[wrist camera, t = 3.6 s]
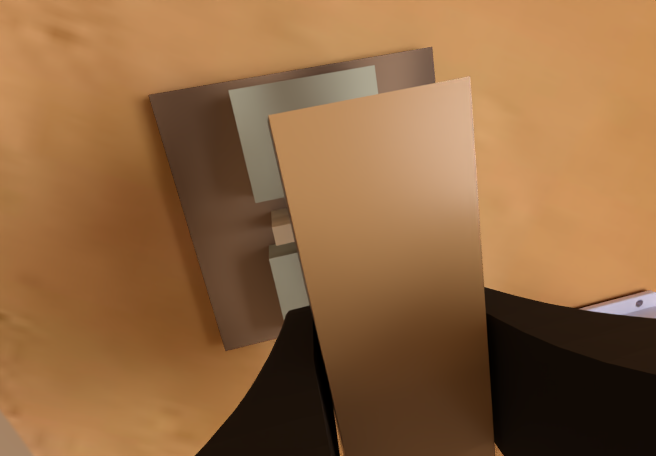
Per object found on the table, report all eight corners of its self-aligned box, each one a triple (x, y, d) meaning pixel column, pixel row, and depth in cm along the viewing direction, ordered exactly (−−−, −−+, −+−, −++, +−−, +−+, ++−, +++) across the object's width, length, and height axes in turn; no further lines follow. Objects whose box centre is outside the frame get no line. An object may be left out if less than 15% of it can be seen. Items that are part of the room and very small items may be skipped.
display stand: (425, 50, 18) (468, 27, 14) (447, 288, 21) (486, 322, 17) (154, 96, 16) (118, 85, 12) (227, 342, 20) (217, 392, 16)
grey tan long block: (373, 101, 10) (470, 76, 5) (420, 433, 14) (504, 598, 9) (267, 121, 10) (268, 114, 5) (343, 456, 13) (387, 640, 8)
